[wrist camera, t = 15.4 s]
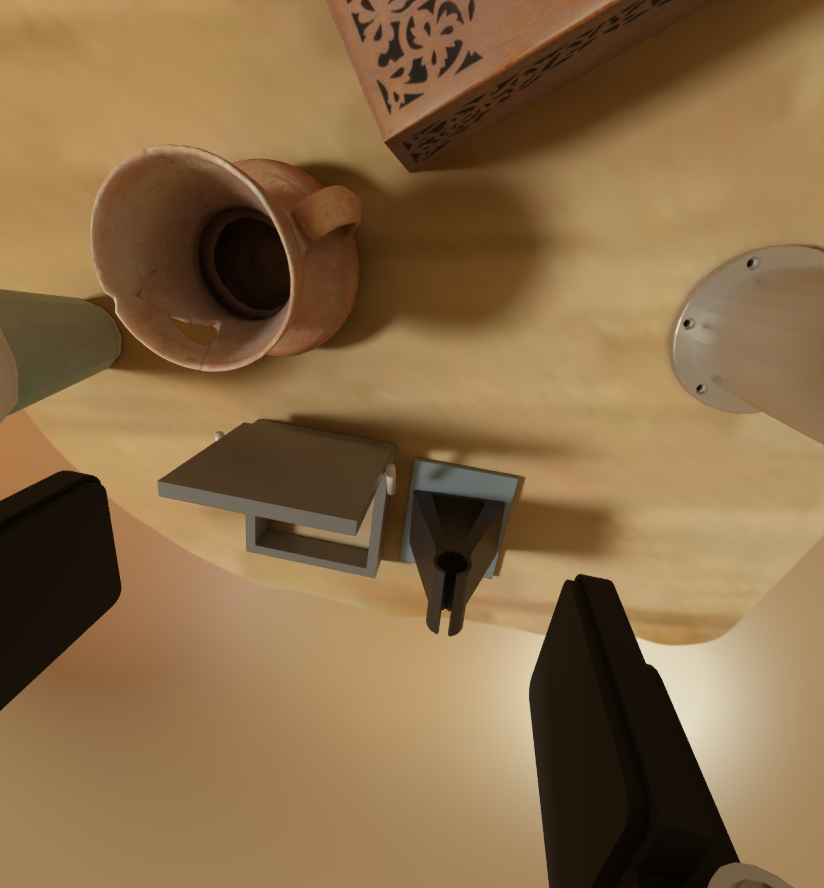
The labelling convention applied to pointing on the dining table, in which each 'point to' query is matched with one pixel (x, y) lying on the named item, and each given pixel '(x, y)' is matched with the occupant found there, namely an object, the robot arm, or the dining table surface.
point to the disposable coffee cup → (50, 346)
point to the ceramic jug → (225, 254)
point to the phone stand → (452, 549)
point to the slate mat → (458, 493)
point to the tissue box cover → (480, 58)
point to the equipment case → (294, 489)
